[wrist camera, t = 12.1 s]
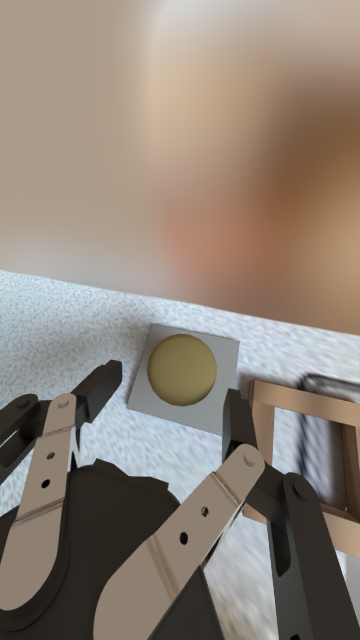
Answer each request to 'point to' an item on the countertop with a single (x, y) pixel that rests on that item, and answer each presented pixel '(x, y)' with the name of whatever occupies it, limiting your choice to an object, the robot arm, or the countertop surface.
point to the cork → (182, 370)
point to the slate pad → (204, 412)
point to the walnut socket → (356, 429)
